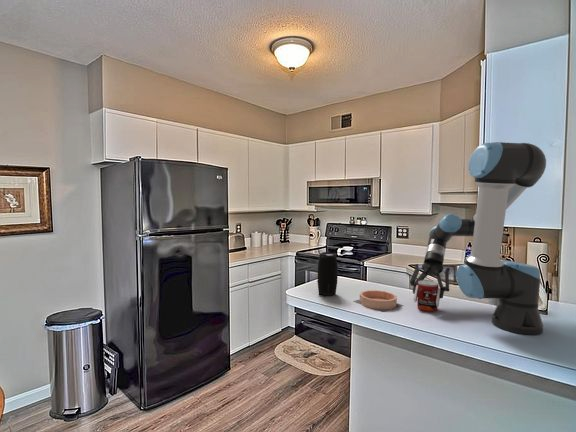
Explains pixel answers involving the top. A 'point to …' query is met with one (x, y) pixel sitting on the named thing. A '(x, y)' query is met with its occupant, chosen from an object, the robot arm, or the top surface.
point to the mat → (382, 309)
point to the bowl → (378, 299)
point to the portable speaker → (327, 274)
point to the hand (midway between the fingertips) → (425, 302)
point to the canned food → (427, 295)
